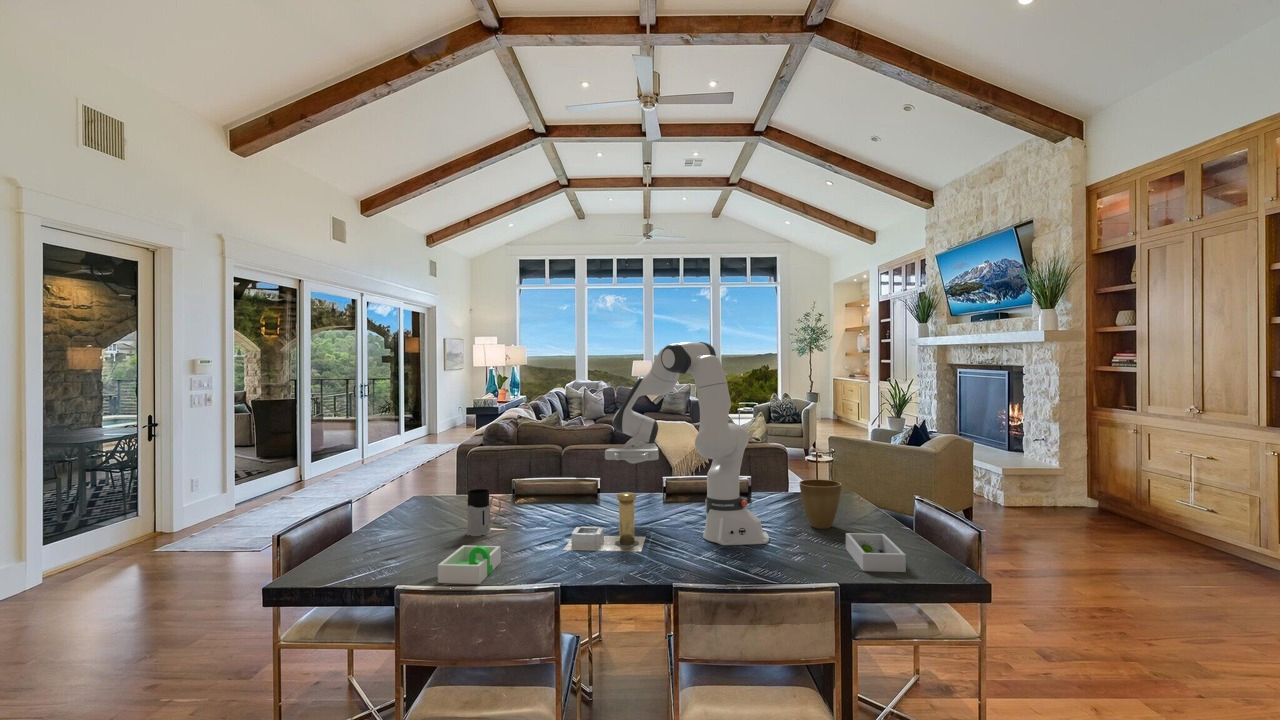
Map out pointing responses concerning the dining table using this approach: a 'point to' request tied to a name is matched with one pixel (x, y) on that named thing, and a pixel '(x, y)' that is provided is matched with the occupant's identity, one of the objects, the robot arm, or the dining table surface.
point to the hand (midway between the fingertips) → (629, 457)
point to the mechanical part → (474, 561)
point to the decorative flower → (868, 546)
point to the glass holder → (479, 512)
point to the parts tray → (467, 566)
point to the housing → (599, 541)
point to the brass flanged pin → (626, 518)
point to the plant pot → (820, 501)
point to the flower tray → (882, 562)
